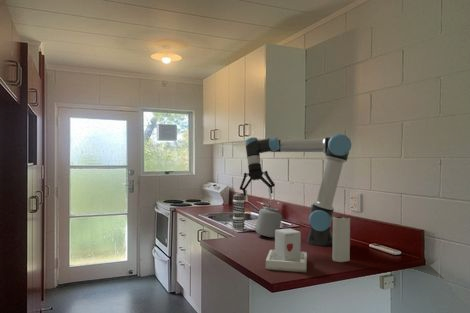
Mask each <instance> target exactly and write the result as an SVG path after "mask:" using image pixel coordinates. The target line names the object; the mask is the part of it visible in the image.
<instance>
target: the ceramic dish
mask: <svg viewBox="0 0 470 313" xmlns="http://www.w3.org/2000/svg"><path fill="white" fill-rule="evenodd" d="M307 255H308V253H307V251H300V262H293V261H280V260H275V249H269V251H268V254H267V256H266V259H265V270H270V271H271V270H272V271H285V272H297V273H307V261H308V259H307V258H308V256H307Z"/></svg>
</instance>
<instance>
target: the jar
mask: <svg viewBox="0 0 470 313" xmlns="http://www.w3.org/2000/svg"><path fill="white" fill-rule="evenodd" d="M271 197H272V199H274V197H273V196H271ZM279 203H280V202H277V204H279ZM279 210H280V209H278V208H274V207H270V206H264V208H261V209H259V211H258V215H257V220H256V225H255V230H254V231H255V232H256V233H257V234H258V235H261V236H264V237H267V238H275V230H278V229H280V228H281V222H282V218H283V215H282V213H281V212H279Z"/></svg>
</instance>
